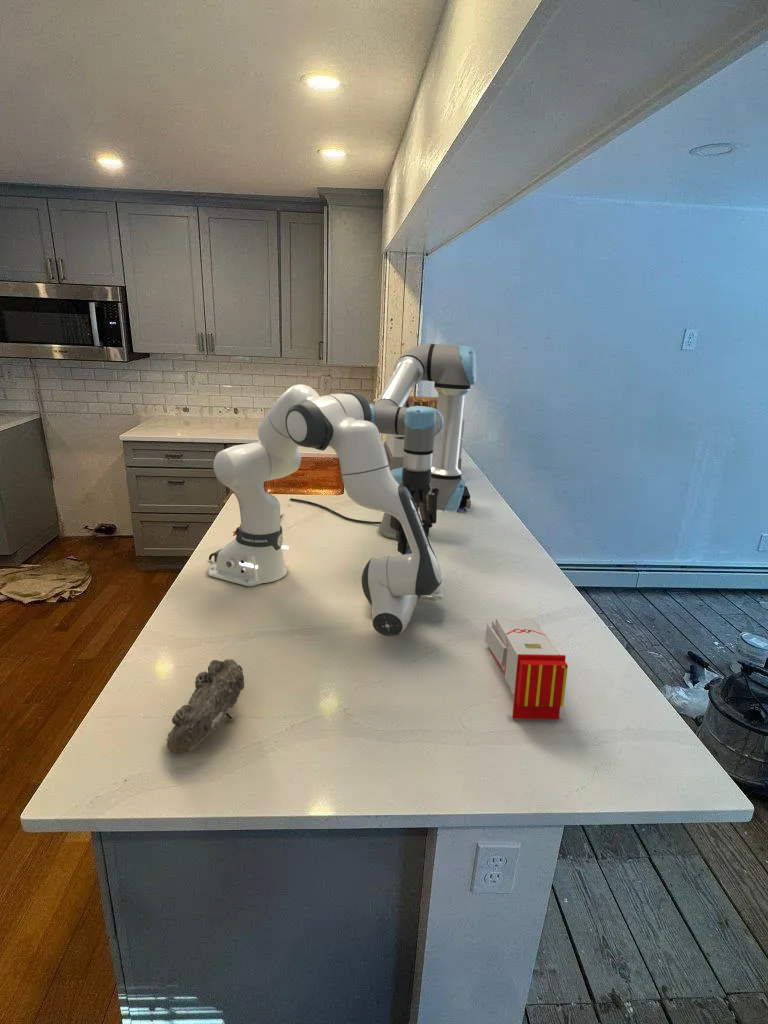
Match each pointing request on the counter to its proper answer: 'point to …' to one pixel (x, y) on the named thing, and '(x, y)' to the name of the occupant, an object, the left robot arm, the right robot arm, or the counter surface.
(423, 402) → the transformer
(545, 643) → the toy
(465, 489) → the figurine character
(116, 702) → the counter surface
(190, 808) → the counter surface
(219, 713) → the fossil
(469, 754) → the counter surface
